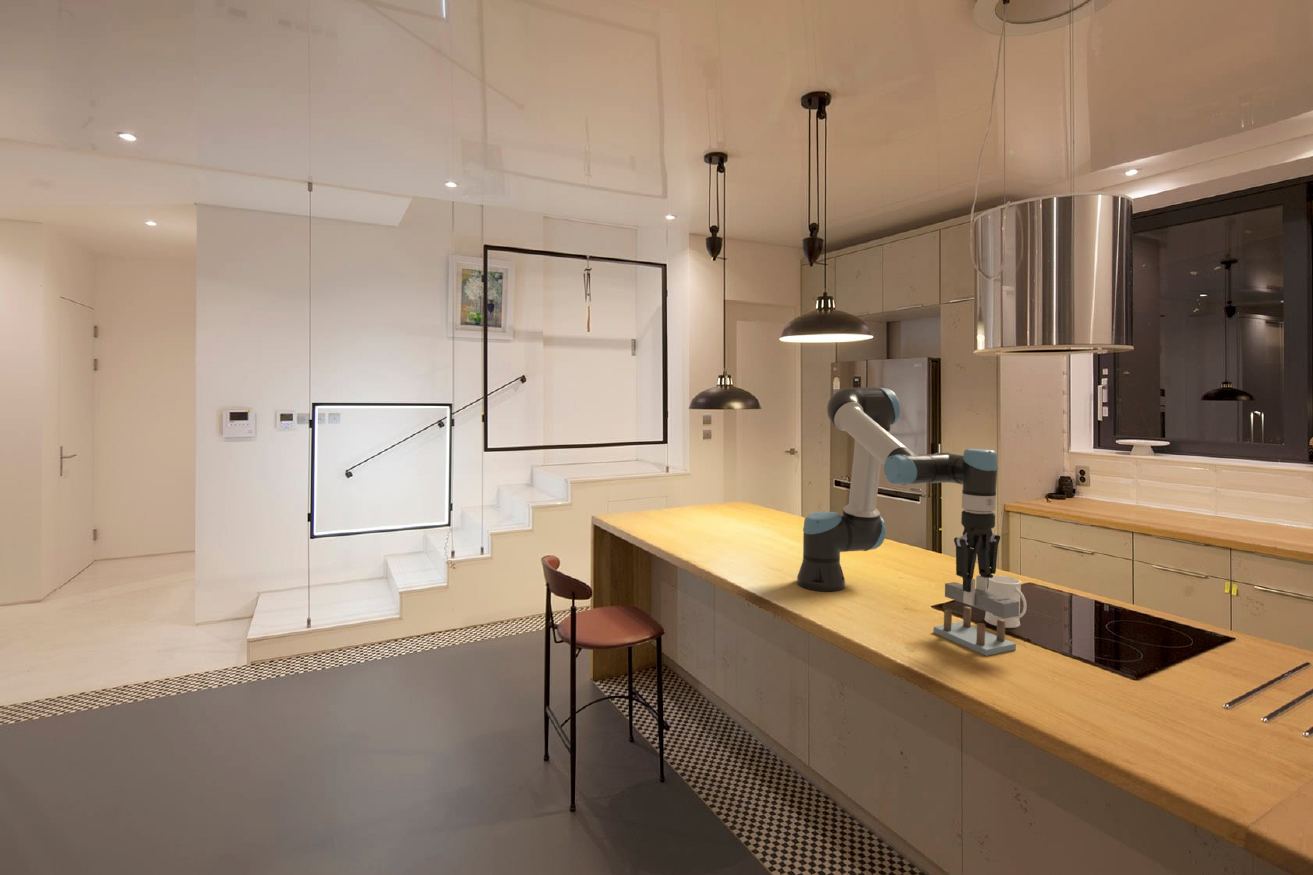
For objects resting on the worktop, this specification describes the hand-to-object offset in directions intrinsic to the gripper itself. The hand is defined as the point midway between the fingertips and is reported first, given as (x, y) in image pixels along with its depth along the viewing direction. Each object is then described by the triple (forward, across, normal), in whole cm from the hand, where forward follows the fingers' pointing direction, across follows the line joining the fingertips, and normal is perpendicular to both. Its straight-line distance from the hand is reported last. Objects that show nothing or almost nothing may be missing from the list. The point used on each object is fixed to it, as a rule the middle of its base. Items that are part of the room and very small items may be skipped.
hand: (974, 602), depth 158 cm
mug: (+10, +18, +5) cm, 21 cm away
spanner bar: (0, 0, 0) cm, 1 cm away
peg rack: (+10, 0, 0) cm, 10 cm away
